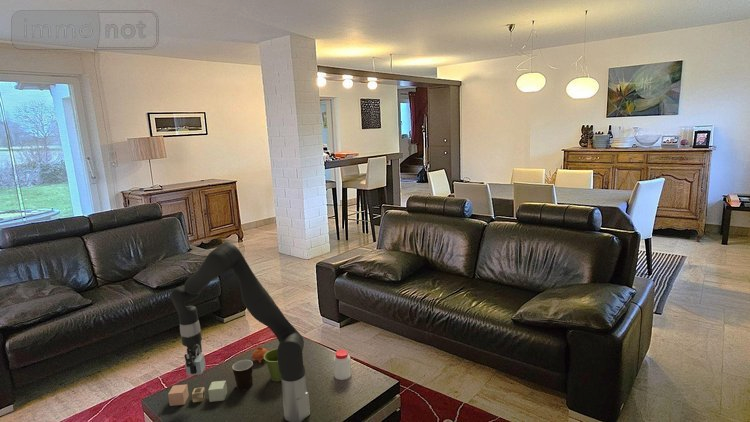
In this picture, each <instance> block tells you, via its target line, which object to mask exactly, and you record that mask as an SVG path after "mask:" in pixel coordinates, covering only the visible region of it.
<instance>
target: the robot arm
mask: <svg viewBox="0 0 750 422" xmlns="http://www.w3.org/2000/svg"><path fill="white" fill-rule="evenodd" d="M230 270H232V271H233V272H234V274H235V275H236V277H237V280H238V283H239V289H240V296H241V299H242V300H241V301H242V304H243V305H244V307H245V308H246V309H247V311H248V312H249V313H250V315H251V316H252V317H253V318H254V320H256V321H258V322H259V323H261V324H262V325H265V326H266V327H267V328H268V329H269V330H271V331H272V333H273V334H274V335H275V337H276V339H277V341H278V343H279V344H278V347H277V348H276V349H277V357H278V366H279V372H280V374H281V393H282V404H283V407H282V408H283V415H284V419H285V421H287V422H303V421H304V420H305V419H306V418H307V417H308V416H310V415H311V408H310V395H309V391H307V379H306V368H305V365H304V359H303V351H304V346H305V341H304V338H303V336H302V334H301V333H300V332H299V331H298V330H297V329H296V328H295V327H294V326H293V325H292V323H291V322H290V321H289V320H288V319H287V317H285V315H284V313H283V312H282V311H281V309H280V308H279V306H278V305H277V304H276V302H275V301H274V299H273V297H271V295H270V293H269V292H268V291H267V290H266V288H265V287H264V286H263V284H262V283H261V282H260V281H259V279H258V278H257V276H256V275H255V274H254V272H253V270H252V268H251V267H250V265H249V264H248V262H247V260H246V259H245V257H244V255H243V254H242V252H241V251H240V249H239V248H238V247H237V246H236V245H235V244H234V243H232V242H231V241H230V242H229V241H224V242H222V243H221V244H220V245H218V246H216V247H215V248H214V249H213V250H212V251H210V252H209V253H208V254H207V256H206V257H205V259H204V261H203V262H202V264H201V265H200V267H199V268H198V269H197V270H196V271H195V272H194V273H192V274H191V276H189V277H188V278H187V280H185V282H184V284H182V285H180V286H177V287H175V288H173V289H172V290H171V292H170V300H171V302H172V304H173V306H174V307H175V311H176V312H177V315H178V320H179V333H180V339H181V344H182V346H184V347H186V353H185V354H184V360H185V363H186V365H187V367H190V372H191V374H196V373H197V370H196V359H197V355H202V352H203V349H202V348H203V347H202V341H203V337H202V331H201V330H202V329H201V324H200V320H199V315H198V308H197V307H196V306H194V305H186V304H187V303H189V302H192V301H194V300H196V299H197V298H198V297H200V296H201V293H202V291H203V290H204V289H206V288H207V287H208V286H209V285H210V283H211V282H212V281H214V280H215V278H218V277H221V276H222V275H224V274H226V273H227V272H229V271H230ZM192 356H195V357H194V358H193V357H192Z"/></svg>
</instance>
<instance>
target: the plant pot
mask: <svg viewBox="0 0 750 422" xmlns="http://www.w3.org/2000/svg"><path fill="white" fill-rule="evenodd" d="M277 349H278V348H274V349H271V350H267V351H268V352H267V353H266V354H265V355H264V359H263V360H264V361H265V363H266V366H267V368H268V372H269V375H270V380H271V381H273V382H280V381H281V374H280V372H279V366H278V357H277Z"/></svg>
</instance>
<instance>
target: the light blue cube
mask: <svg viewBox="0 0 750 422" xmlns="http://www.w3.org/2000/svg"><path fill="white" fill-rule="evenodd" d="M192 357H193V358H194V357H195V356H192ZM184 366H185V372H186V376H194V375H202V374H203V372H204V370H205V368H206V366H207V365H206V359H205V354H204V353H203V354H201V355H197V359H196V370H197V373H196V374H191V372H190V367H187V365H186V362H185V363H184Z"/></svg>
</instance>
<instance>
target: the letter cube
mask: <svg viewBox="0 0 750 422" xmlns="http://www.w3.org/2000/svg"><path fill="white" fill-rule="evenodd" d="M205 390H206V388H205V386H203V387H201V386H200V387H195V388H193V391H192V393H191V398H192V403H199V402H203V401H204V400H205V397H206V391H205Z"/></svg>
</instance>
